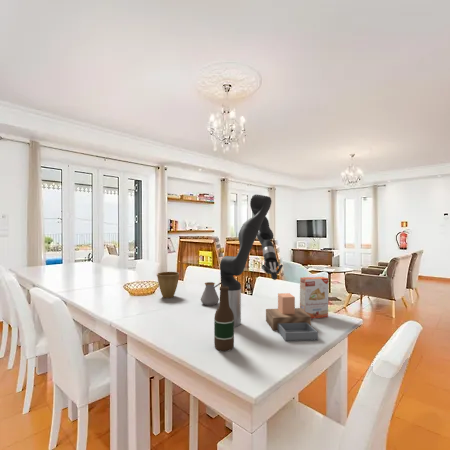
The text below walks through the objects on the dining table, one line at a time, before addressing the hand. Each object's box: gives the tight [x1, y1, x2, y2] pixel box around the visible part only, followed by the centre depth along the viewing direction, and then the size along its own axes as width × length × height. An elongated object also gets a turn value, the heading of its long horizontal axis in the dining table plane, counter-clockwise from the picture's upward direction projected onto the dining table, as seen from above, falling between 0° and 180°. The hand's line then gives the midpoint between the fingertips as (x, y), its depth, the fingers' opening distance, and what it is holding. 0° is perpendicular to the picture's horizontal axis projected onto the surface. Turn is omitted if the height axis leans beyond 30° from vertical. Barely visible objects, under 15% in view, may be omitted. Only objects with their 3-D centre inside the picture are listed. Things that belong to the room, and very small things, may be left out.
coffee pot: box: [200, 281, 222, 306], centre depth 180 cm, size 21×12×15 cm, turn 125°
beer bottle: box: [213, 285, 235, 352], centre depth 113 cm, size 8×8×24 cm
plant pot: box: [156, 271, 180, 299], centre depth 195 cm, size 15×15×16 cm
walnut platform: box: [265, 307, 312, 332], centre depth 139 cm, size 18×14×6 cm
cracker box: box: [299, 276, 330, 320], centre depth 152 cm, size 14×6×21 cm, turn 105°
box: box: [277, 323, 319, 342], centre depth 125 cm, size 14×12×4 cm
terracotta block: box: [277, 292, 296, 314], centre depth 141 cm, size 6×8×8 cm
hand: (275, 279), depth 162 cm, fingers closed
